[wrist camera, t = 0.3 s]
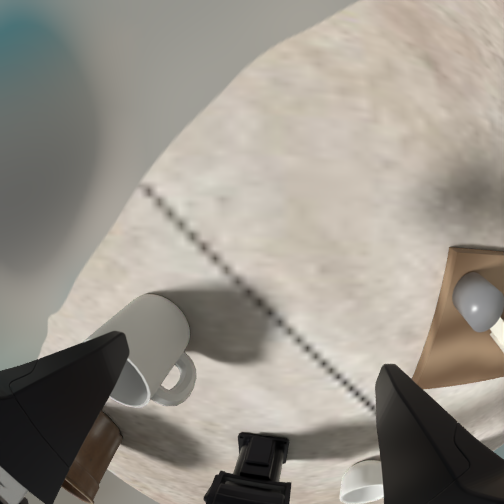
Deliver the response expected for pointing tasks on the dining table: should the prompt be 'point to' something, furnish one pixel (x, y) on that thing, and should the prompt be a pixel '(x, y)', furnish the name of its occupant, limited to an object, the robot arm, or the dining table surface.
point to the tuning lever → (480, 305)
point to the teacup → (362, 483)
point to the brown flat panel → (461, 328)
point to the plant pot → (93, 459)
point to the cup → (152, 352)
